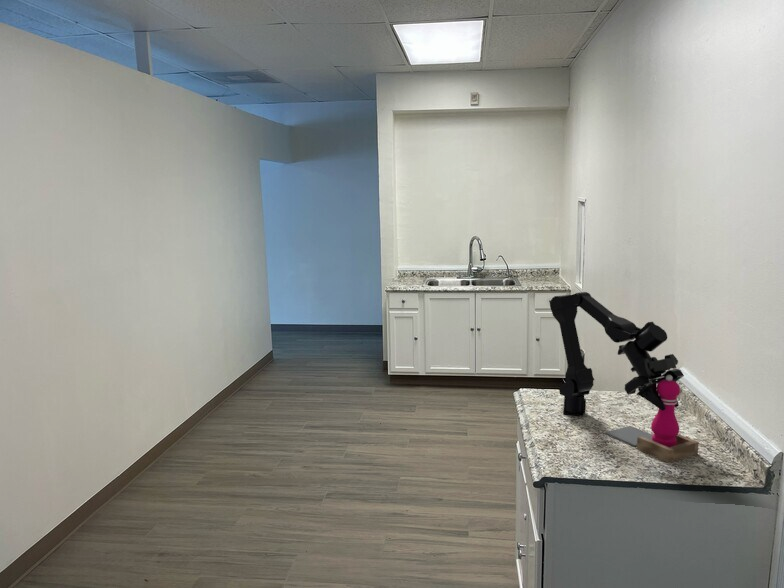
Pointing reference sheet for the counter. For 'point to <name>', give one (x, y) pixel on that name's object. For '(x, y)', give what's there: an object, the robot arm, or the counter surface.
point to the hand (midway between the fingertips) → (670, 408)
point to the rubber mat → (628, 435)
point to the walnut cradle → (669, 448)
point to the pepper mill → (666, 414)
